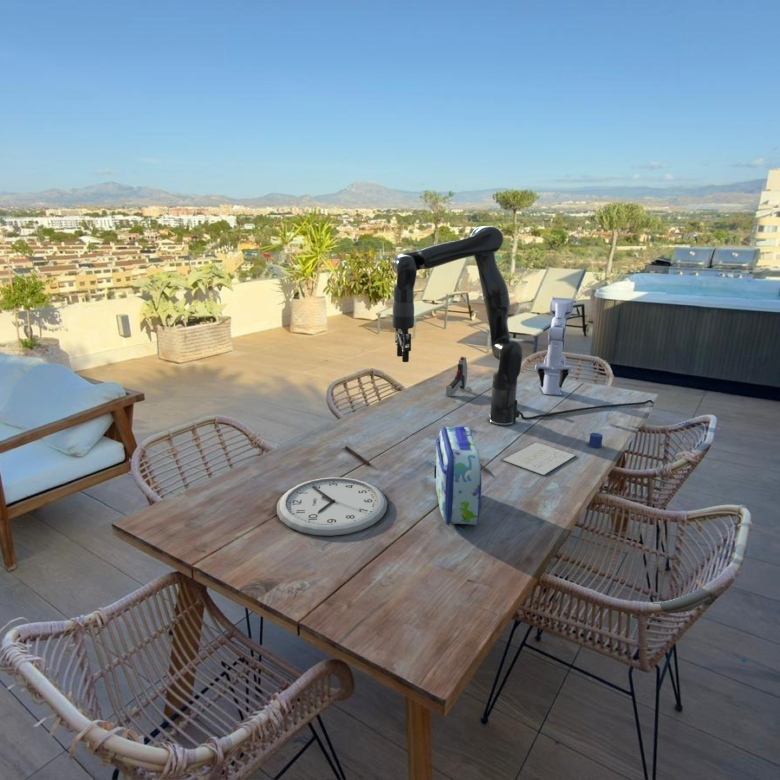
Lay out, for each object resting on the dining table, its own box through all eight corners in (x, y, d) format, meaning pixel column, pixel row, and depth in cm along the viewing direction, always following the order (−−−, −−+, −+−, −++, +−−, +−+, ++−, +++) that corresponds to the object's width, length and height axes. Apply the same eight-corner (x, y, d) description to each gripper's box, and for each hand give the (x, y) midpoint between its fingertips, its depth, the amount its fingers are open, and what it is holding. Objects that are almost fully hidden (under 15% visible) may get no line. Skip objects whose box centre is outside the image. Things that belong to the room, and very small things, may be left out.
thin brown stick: (344, 448, 179) (344, 445, 179) (346, 448, 179) (346, 445, 179) (367, 464, 167) (367, 462, 167) (368, 464, 167) (368, 461, 167)
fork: (483, 474, 162) (483, 469, 161) (463, 454, 176) (463, 448, 176) (491, 474, 162) (491, 468, 162) (470, 453, 177) (470, 447, 176)
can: (592, 442, 188) (593, 431, 187) (603, 445, 186) (604, 434, 184) (586, 445, 186) (588, 434, 184) (597, 448, 183) (599, 437, 182)
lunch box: (432, 483, 156) (435, 417, 149) (468, 484, 156) (473, 418, 149) (439, 532, 131) (443, 455, 125) (482, 533, 131) (488, 456, 124)
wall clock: (392, 527, 129) (268, 531, 127) (391, 533, 130) (269, 537, 127) (383, 473, 158) (282, 475, 155) (383, 478, 158) (282, 480, 156)
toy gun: (446, 363, 232) (463, 355, 243) (446, 397, 237) (462, 387, 249) (450, 364, 230) (467, 356, 242) (450, 398, 236) (466, 388, 247)
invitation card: (535, 442, 186) (575, 454, 176) (535, 442, 187) (575, 455, 176) (502, 459, 172) (543, 474, 162) (502, 460, 172) (543, 475, 162)
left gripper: (419, 317, 177) (417, 363, 181) (408, 310, 190) (408, 354, 195) (397, 317, 175) (396, 364, 180) (388, 311, 188) (388, 354, 193)
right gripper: (538, 357, 216) (535, 388, 220) (574, 358, 214) (570, 390, 218) (535, 353, 222) (532, 383, 226) (570, 354, 221) (566, 385, 225)
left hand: (402, 359), depth 187 cm, fingers open, 8 cm apart
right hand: (550, 386), depth 223 cm, fingers open, 7 cm apart
